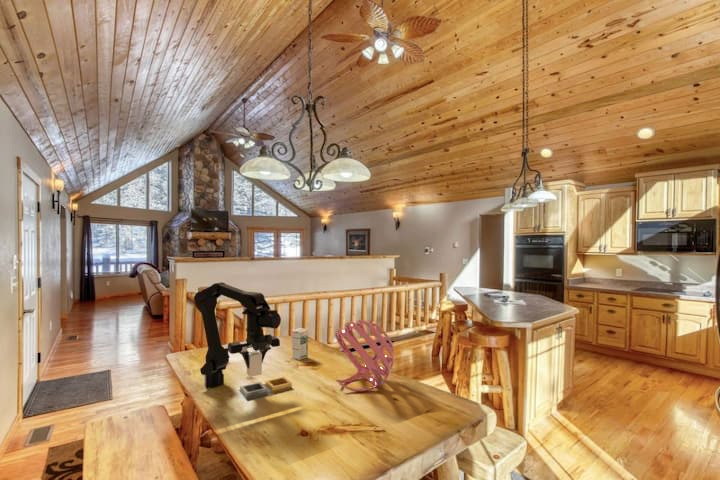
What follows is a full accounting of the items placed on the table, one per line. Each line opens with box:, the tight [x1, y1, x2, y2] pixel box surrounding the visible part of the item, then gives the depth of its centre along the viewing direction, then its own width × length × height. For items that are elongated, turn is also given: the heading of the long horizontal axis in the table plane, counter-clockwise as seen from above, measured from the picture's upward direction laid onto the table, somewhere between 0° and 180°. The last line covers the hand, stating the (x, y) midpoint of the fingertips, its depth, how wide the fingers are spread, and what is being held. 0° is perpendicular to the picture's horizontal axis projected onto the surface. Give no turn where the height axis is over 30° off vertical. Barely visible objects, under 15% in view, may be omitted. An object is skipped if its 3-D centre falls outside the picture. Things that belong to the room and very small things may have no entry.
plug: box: [246, 350, 263, 378], centre depth 132 cm, size 4×4×8 cm
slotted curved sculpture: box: [334, 319, 395, 393], centre depth 142 cm, size 28×28×27 cm
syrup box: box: [291, 327, 309, 361], centre depth 178 cm, size 6×6×14 cm
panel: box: [238, 376, 294, 402], centre depth 135 cm, size 18×12×3 cm, turn 125°
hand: (254, 367), depth 132 cm, fingers closed on plug, 4 cm apart
